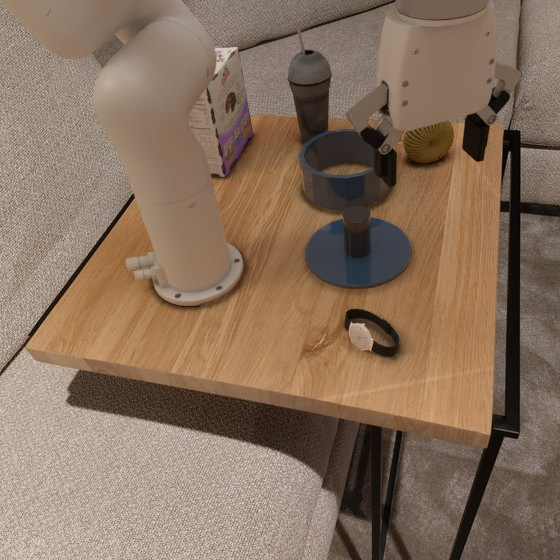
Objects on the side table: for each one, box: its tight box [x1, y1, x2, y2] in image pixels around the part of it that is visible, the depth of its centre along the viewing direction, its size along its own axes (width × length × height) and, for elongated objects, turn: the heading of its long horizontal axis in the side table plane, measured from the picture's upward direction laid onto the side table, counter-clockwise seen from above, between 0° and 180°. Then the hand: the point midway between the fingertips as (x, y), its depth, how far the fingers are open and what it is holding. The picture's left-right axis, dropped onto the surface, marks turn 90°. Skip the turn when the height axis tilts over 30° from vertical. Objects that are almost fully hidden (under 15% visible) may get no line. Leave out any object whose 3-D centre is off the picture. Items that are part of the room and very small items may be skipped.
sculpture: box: [402, 120, 455, 164], centre depth 92 cm, size 8×4×8 cm, turn 101°
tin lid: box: [305, 206, 412, 289], centre depth 78 cm, size 14×14×7 cm
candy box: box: [189, 46, 254, 178], centre depth 97 cm, size 14×6×16 cm, turn 162°
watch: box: [344, 308, 400, 358], centre depth 68 cm, size 8×5×4 cm, turn 37°
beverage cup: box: [287, 22, 333, 144], centre depth 97 cm, size 7×7×20 cm
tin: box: [298, 128, 390, 212], centre depth 90 cm, size 13×13×6 cm
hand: (429, 167), depth 60 cm, fingers open, 9 cm apart
